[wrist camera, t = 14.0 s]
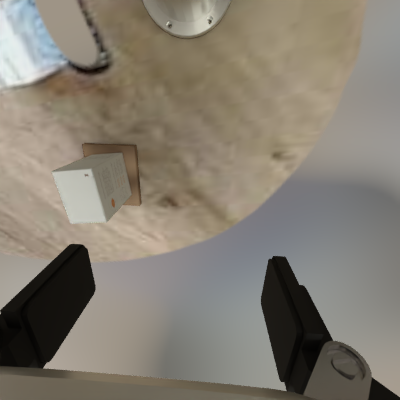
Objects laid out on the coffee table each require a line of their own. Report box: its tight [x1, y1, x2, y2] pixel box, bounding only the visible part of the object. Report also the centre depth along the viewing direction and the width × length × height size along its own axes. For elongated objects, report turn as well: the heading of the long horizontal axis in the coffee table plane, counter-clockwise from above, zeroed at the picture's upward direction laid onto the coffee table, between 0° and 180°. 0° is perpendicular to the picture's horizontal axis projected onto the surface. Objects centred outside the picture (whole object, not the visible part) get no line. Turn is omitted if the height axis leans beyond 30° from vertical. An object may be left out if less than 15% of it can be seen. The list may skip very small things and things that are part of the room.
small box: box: [51, 153, 132, 224], centre depth 33 cm, size 8×6×10 cm
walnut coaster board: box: [82, 143, 141, 206], centre depth 39 cm, size 11×9×1 cm
